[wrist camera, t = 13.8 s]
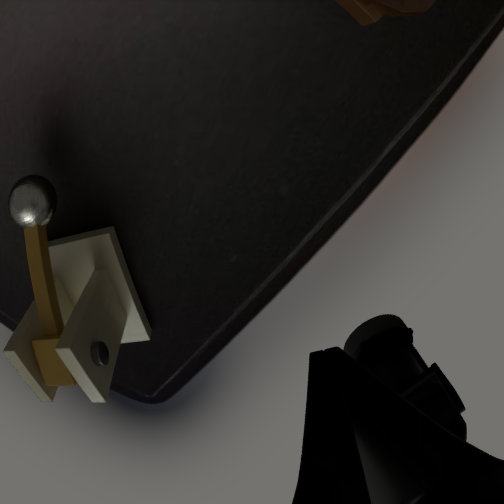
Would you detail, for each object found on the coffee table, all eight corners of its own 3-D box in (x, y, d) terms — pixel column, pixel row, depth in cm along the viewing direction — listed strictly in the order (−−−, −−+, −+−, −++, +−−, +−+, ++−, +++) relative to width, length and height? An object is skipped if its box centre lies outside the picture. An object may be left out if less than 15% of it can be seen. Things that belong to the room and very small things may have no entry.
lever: (26, 186, 16) (-4, 179, 13) (64, 173, 16) (36, 162, 13) (60, 369, 17) (36, 388, 14) (100, 367, 17) (79, 388, 14)
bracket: (33, 244, 19) (-29, 319, 11) (113, 225, 19) (64, 307, 12) (78, 338, 23) (49, 421, 16) (152, 329, 24) (138, 423, 16)
